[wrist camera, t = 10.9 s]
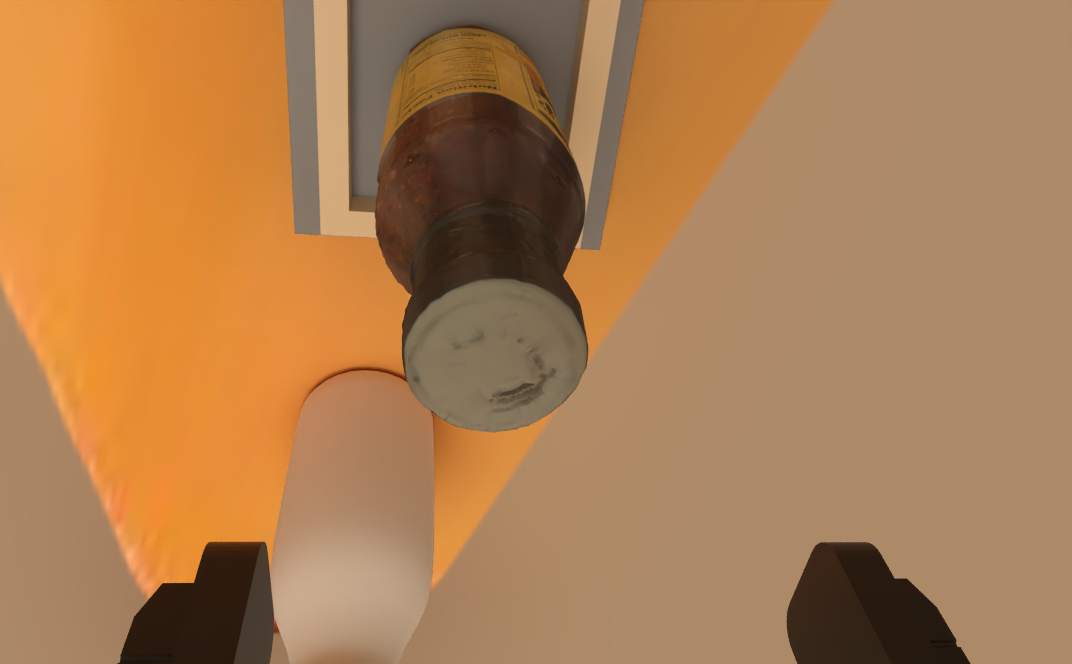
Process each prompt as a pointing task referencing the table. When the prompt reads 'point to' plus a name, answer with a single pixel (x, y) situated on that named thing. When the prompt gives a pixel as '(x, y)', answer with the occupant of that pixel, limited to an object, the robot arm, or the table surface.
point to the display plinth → (377, 54)
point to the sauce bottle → (481, 232)
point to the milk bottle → (355, 523)
